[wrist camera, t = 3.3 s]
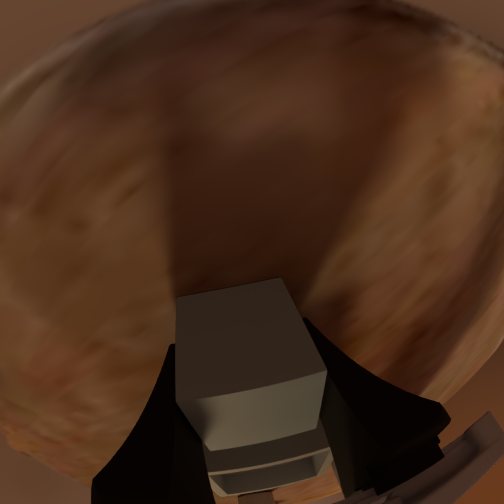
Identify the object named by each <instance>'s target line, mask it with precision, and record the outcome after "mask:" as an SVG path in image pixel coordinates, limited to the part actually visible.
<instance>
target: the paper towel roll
mask: <svg viewBox="0 0 504 504" xmlns="http://www.w3.org/2000/svg"><path fill="white" fill-rule="evenodd" d="M238 502H239V504H275V501H274V498H273V494H272V492H260V493H253V494H248V495H244V496H240V497H238Z"/></svg>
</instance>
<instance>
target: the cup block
mask: <svg viewBox="0 0 504 504" xmlns="http://www.w3.org/2000/svg"><path fill="white" fill-rule="evenodd" d="M202 445H203V451H204V456H205V462H206V466H207V471H208V476H209V480H210V484H211V488H212V490H213V491H214V492H215V493H216V494H218V495H219V496H220V497H223V496H231V495H239V494H245V493H252V492H257V491H263V490H268V489H273V488H277V487H282V486H286V485H290V484H294V483H298V482H302V481H305V480H309V479H312V478H315V477H319V476H322V475H324V473H325V472H326V470H327V469H328V467H329V465H330V464H331V462H332V461H333V456H332V452H331V449H330V446H329V443H328V440H327V437H326V434H325V431H324V428H323V425H322V423H321V420H320V417H318V422H317V427H316V428H315V429H312V430H309V431H305V432H302V433H298V434H295V435H291V436H287V437H283V438H279V439H275V440H271V441H266V442H261V443H257V444H252V445H246V446H241V447H235V448H229V449H222V450H215V451H210V450H209V449H208V447H207V446H206V445H205V443H204V442H203V441H202Z"/></svg>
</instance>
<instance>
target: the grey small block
mask: <svg viewBox="0 0 504 504" xmlns="http://www.w3.org/2000/svg"><path fill="white" fill-rule="evenodd" d="M326 375H327V368H326V366H325V364H324V362H323V360H322V358H321V356H320V354H319V352H318V350H317V348H316V346H315V344H314V342H313V340H312V338H311V336H310V334H309V332H308V330H307V328H306V326H305V324H304V322H303V320H302V318H301V316H300V314H299V312H298V310H297V308H296V306H295V304H294V302H293V300H292V298H291V296H290V294H289V292H288V290H287V288H286V286H285V284H284V282H283V280H282V278H281V277H280V278H275V279H270V280H265V281H260V282H255V283H250V284H245V285H240V286H235V287H230V288H225V289H220V290H214V291H209V292H204V293H198V294H193V295H187V296H182V297H177V301H176V334H175V385H176V403H177V404H178V406H179V407H180V409H181V410H182V412H183V413H184V415H185V416H186V418H187V419H188V421H189V422H190V424H191V425H192V427H193V428H194V429H195V431H196V432H197V434H198V435H199V436H200V438H201V439H202V441H203V442H204V443H205V445H206V446H207V447H208V449H209V450H210V451H215V450H222V449H229V448H235V447H241V446H246V445H252V444H257V443H261V442H266V441H271V440H275V439H279V438H283V437H287V436H291V435H295V434H298V433H302V432H305V431H309V430H312V429H315V428H316V427H317V422H318V417H319V413H320V408H321V402H322V397H323V392H324V386H325V380H326Z"/></svg>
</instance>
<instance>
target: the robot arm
mask: <svg viewBox="0 0 504 504" xmlns="http://www.w3.org/2000/svg"><path fill="white" fill-rule="evenodd" d="M302 320H303V322H304V324H305V326H306V328H307V330H308V332H309V334H310V336H311V338H312V340H313V342H314V344H315V346H316V348H317V350H318V352H319V354H320V356H321V358H322V360H323V362H324V364H325V366H326V368H327V375H326V380H325V386H324V392H323V397H322V402H321V408H320V413H319V417H320V420H321V423H322V425H323V428H324V431H325V434H326V437H327V440H328V443H329V446H330V449H331V452H332V456H333V461H332V462H331V465H332V468H333V470H334V473H335V475H336V478H337V480H338V483H339V485H340V488H341V490H342V493H343V495H344V498H345V499H344V500H341V501H339V502H336V503H333V504H454V503H455V502H456V501H457V500H458V499H459V498H461V497H462V496H463V495H464V494H465V493H466V492H467V491H468V490H469V489H470V488H472V487H473V486H474V485H475V484H476V483H477V482H478V481H479V480H480V479H481V478H482V477H483V476H484V475H485V474H486V473H487V472H488V471H489V470H490V468H492V467H493V466H494V465H495V464H496V463H497V462H498V461H499V459H500V458H501V457H502V456H503V455H504V431H503V430H502V428H501V427H500V425H499V424H498V422H497V421H496V419H495V418H494V416H493V415H492V413H491V412H490V411H488V412H487V413H486V414H484V415H483V416H482V417H481V418H480V419H479V420H477V421H476V422H475V423H474V424H472V425H471V426H470V427H469V428H468V429H467V430H466V431H465V432H464V433H463V434H462V435H461V436H460V437H458V438H457V439H455V440H454V441H453V442H451V443H450V444H448V445H447V446H446V447H444V448H443V449H440V447H439V445H438V444H439V443H440V440H439V438H438V436H437V435H439V434H440V432H441V431H443V430H444V429H445V428H446V426H447V425H448V424H449V423H450V421H451V418H450V417H449V415H448V413H447V412H446V410H445V409H444V407H443V406H442V405H441V404H440V403H439V402H436V401H432V400H429V399H426V398H422V397H419V396H417V395H414V394H412V393H409V392H407V391H404V390H402V389H400V388H398V387H396V386H394V385H392V384H390V383H388V382H386V381H384V380H382V379H381V378H379V377H377V376H375V375H374V374H372V373H371V372H369V371H367V370H366V369H364V368H363V367H362V366H360V365H359V364H357V363H356V362H355V361H353V360H352V359H351V358H349V357H348V356H347V355H346V354H344V353H343V352H342V351H341V350H340V349H338V348H337V347H336V346H335V345H334V344H333V343H331V342H330V341H329V340H328V339H327V338H326V337H325V336H324V335H323V334H322V333H321V332H320V331H319V330H318V329H317V328H316V327H315V326H314V325H313V324H312V323H311V322H310V321H309V320H308V319H307V318H302ZM91 504H216V503H215V500H214V496H213V492H212V488H211V484H210V480H209V476H208V471H207V466H206V462H205V456H204V451H203V445H202V439H201V438H200V436H199V435H198V434H197V432H196V431H195V429H194V428H193V427H192V425H191V424H190V422H189V421H188V419H187V418H186V416H185V415H184V413H183V412H182V410H181V409H180V407H179V406H178V404H177V403H176V385H175V344H170V346H169V348H168V351H167V354H166V357H165V360H164V363H163V366H162V369H161V372H160V374H159V377H158V379H157V382H156V384H155V387H154V389H153V391H152V393H151V396H150V398H149V400H148V402H147V404H146V406H145V408H144V410H143V412H142V414H141V416H140V418H139V420H138V421H137V423H136V425H135V426H134V428H133V430H132V431H131V433H130V434H129V436H128V437H127V439H126V440H125V442H124V443H123V445H122V446H121V447H120V449H119V450H118V451H117V452H116V454H115V455H114V456H113V458H112V459H111V460H110V461H109V462H108V463H107V465H106V466H105V467H104V468H103V469H102V470H101V471H100V472H99V473H98V474H97V475H96V476H95V477H94V478H93V480H92V487H91Z"/></svg>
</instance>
